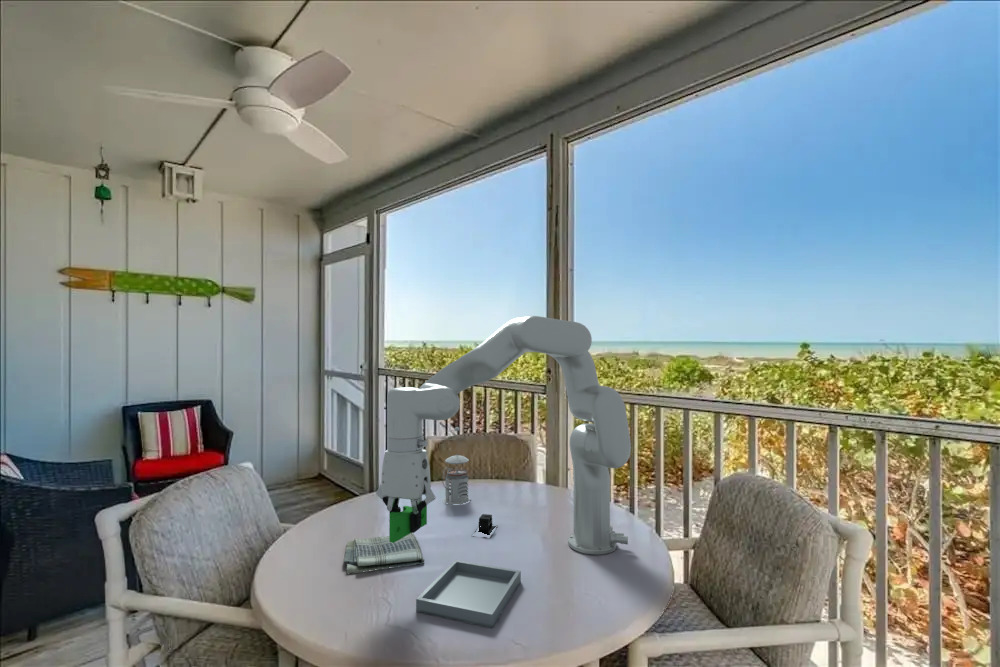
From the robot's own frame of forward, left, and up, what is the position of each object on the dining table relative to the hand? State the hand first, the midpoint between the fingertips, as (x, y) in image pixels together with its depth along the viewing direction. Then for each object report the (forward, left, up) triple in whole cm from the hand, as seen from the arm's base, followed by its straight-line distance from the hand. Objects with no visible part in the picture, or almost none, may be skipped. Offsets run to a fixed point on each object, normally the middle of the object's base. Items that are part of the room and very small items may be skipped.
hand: (405, 528), depth 101 cm
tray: (-15, -2, -13) cm, 20 cm away
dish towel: (+14, -13, -14) cm, 23 cm away
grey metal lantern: (+14, -56, -13) cm, 59 cm away
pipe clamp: (0, 0, -1) cm, 1 cm away
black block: (-5, -35, -14) cm, 38 cm away
